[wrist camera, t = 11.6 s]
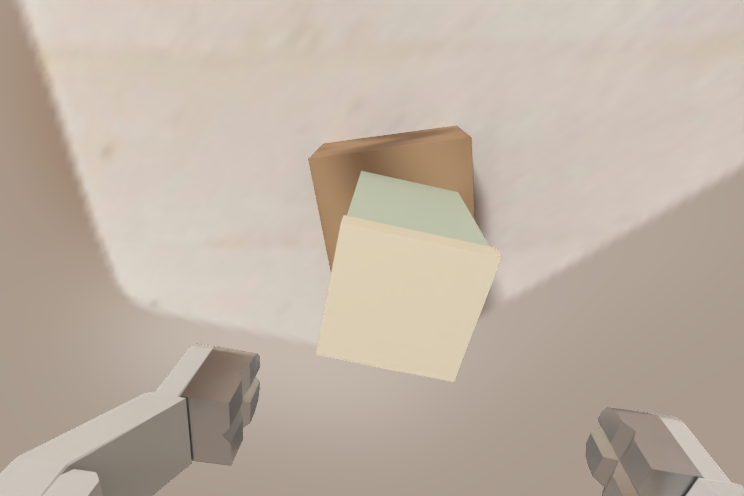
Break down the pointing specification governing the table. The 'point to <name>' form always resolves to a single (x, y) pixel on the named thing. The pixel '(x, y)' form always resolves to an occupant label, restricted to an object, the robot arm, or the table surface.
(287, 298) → the table surface
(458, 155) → the walnut block
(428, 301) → the tea tin
